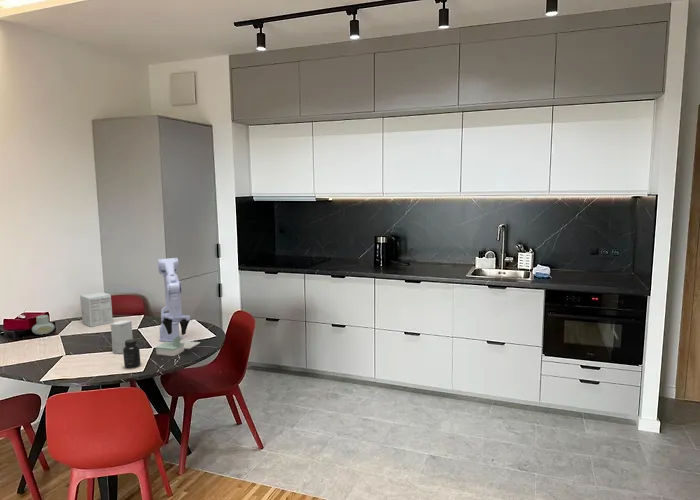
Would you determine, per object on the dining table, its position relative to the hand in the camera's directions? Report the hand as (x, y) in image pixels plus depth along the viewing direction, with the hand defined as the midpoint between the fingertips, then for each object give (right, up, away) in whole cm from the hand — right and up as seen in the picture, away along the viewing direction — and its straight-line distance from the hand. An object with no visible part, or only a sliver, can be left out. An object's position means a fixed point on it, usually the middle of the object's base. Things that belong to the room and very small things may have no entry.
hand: (176, 334), depth 238 cm
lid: (-4, -7, +2) cm, 8 cm away
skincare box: (-29, -10, +6) cm, 31 cm away
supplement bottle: (-15, -12, -16) cm, 25 cm away
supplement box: (-69, -4, +58) cm, 90 cm away
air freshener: (-89, -6, +38) cm, 96 cm away
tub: (-4, -10, +2) cm, 10 cm away
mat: (-1, -8, +14) cm, 16 cm away
